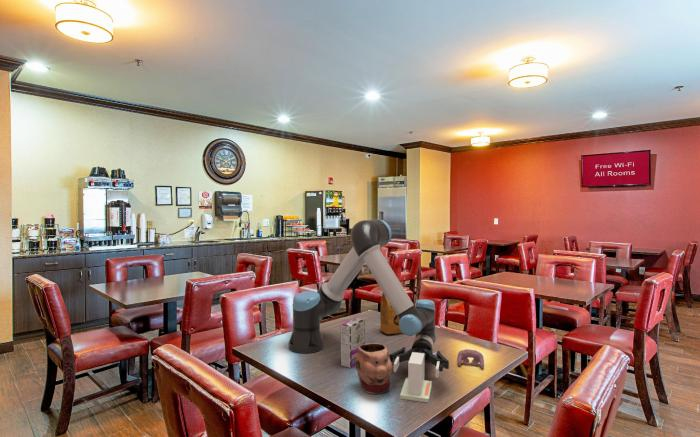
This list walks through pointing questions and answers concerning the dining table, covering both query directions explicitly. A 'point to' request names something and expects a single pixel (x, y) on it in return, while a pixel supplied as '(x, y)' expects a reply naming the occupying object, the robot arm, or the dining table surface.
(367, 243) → the robot arm
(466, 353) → the video game controller
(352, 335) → the candy bar box
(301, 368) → the dining table surface
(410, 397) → the board
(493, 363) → the dining table surface
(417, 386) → the block
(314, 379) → the dining table surface
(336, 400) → the dining table surface
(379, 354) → the decorative planter
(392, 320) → the coffee package
